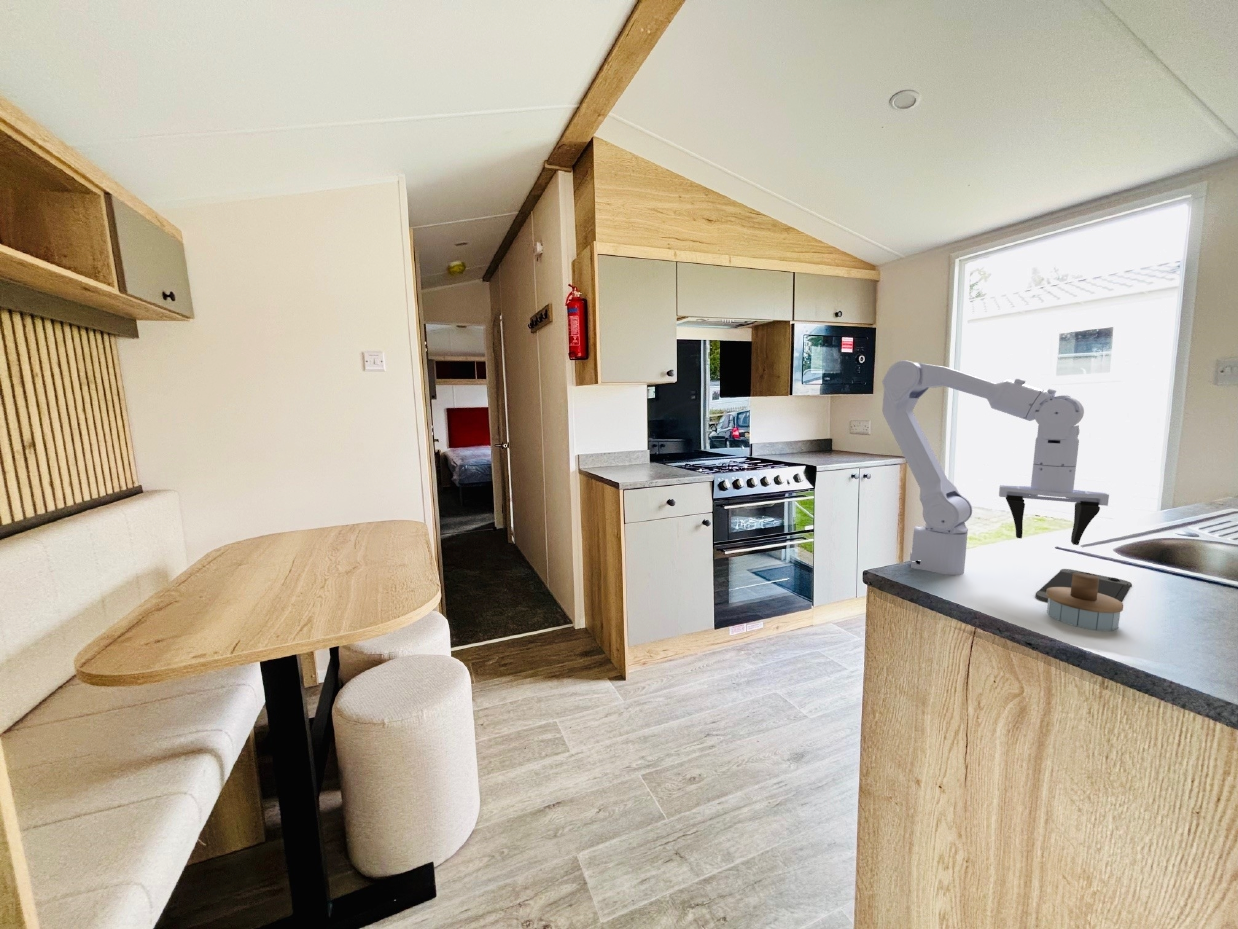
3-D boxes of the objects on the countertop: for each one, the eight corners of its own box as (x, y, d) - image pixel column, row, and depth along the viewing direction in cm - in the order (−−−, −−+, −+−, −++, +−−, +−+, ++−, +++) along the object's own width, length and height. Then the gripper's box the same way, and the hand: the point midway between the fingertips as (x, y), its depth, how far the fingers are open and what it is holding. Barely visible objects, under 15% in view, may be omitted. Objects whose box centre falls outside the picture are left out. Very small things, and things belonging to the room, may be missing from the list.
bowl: (1051, 626, 77) (1053, 604, 77) (1043, 608, 84) (1045, 588, 83) (1123, 639, 73) (1126, 616, 72) (1109, 620, 79) (1111, 599, 79)
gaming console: (1063, 566, 101) (1133, 580, 94) (1062, 572, 101) (1132, 586, 94) (1033, 593, 86) (1114, 612, 78) (1032, 600, 86) (1113, 620, 79)
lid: (1053, 605, 76) (1055, 579, 76) (1040, 587, 84) (1042, 563, 83) (1132, 617, 72) (1136, 590, 71) (1111, 597, 79) (1114, 572, 79)
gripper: (1004, 464, 88) (997, 539, 90) (1117, 470, 80) (1107, 552, 82) (1001, 460, 94) (994, 530, 96) (1106, 466, 86) (1097, 542, 88)
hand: (1046, 540), depth 89 cm, fingers open, 7 cm apart
